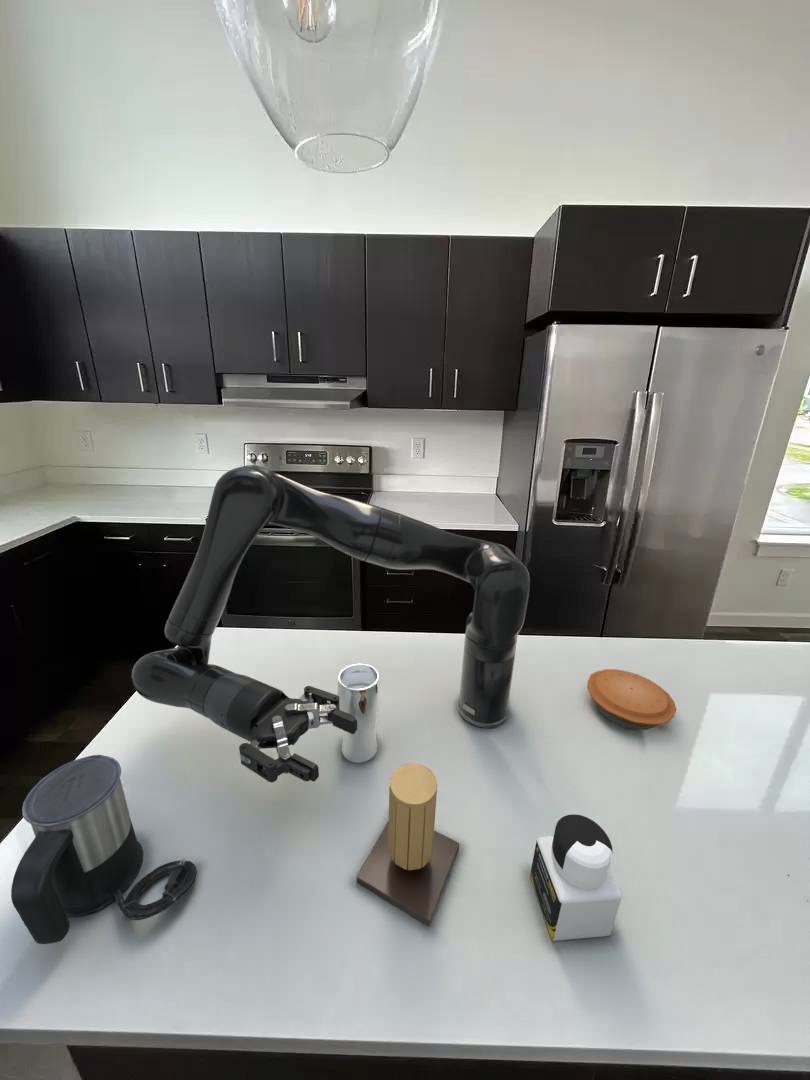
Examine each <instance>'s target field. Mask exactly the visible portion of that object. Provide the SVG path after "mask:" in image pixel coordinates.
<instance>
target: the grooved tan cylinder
mask: <svg viewBox="0 0 810 1080" xmlns="http://www.w3.org/2000/svg"><path fill="white" fill-rule="evenodd" d="M389 779H390V780H389V787H388V821H389V824H388V851H389V853H390V855H391V858H392V860H393V862H395V864H396V865H398V866H400V867H402V868H403V869H405V870H407V868H408V870H415V869H421V867H422V868H423V867H424V866H425V865H426V863H427V862H428V861H429V860H430V859H431V857H432V851H433V839H434V831H435V824H436V808H437V795H438V780H437V777H436V775H435V774H434V772H433V771H432V770H431V769H430V768H429V767H427V766H426V765H424V764H422V763H417V762H408V763H404V764H401V765H400V766H398V767H397V768H396V769H395V770H394V771H393V772H392V774H391V776H390V778H389Z"/></svg>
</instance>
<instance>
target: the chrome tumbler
mask: <svg viewBox="0 0 810 1080" xmlns="http://www.w3.org/2000/svg"><path fill="white" fill-rule="evenodd" d="M336 695H338V696H339V707H340V710H341V711H344V712H346V713H348V714H351V715H353V716H354V717H355V718H356V720H357V731H356V732H355V733H354V734H351V733H349V732H346V731H344V730H342V731H343V732H342V733H343V738H342V743H341V753H342V756H343V757H344V758H345V759H346V760H347V761H349V762H352V763H355V764H356V763H358V764H361V763H365V762H367V761H370V760H371V759H372V758H373V757H375V755H376V754H377V751H378V742H377V738H376V737H377V736H376V726H377V720H378V717H379V712H380V708H381V707H380V706H381V686H380V674H379V671H378V670H377V669H376V668H375V667H374V666H372V665H370V664H366V663H354V664H350V665H347V666H345V667H344V668H342V669H341V670H340V671H339V673H338V676H337V691H336Z"/></svg>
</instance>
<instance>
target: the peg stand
mask: <svg viewBox="0 0 810 1080" xmlns="http://www.w3.org/2000/svg"><path fill="white" fill-rule="evenodd" d="M388 824H389V820H388V821H387V823H386V824H385V826H384V828H383V830H382V831H381V833H380V835H379V836H378V838H377V840H376V842H375V844H374V845H373V847H372V849H371V851H370V853H369V854H368V856H367V858H366V860H365V862H364V863H363V865H362V866H361V869H360V870H359V872H358V874H357V875H356V884H357V885H359V886H360V887H362V888H364V889H365V890H367V891H368V892H370V893H372V894H374V895H375V896H377V897H379V898H380V899H382V900H384V901H385V902H387V903H389V904H390V905H392V906H394V907H395V908H397V909H398V910H400V911H402V912H403V913H405V914H407V915H409V916H410V917H412V918H413V919H415V920H416V921H418V922H420V923H422V924H423V925H425V926H426V927H428V928H430V927H431V924H432V922H433V919H434V917H435V914H436V911H437V910H438V907H439V903H440V900H441V898H442V896H443V894H444V890H445V888H446V885H447V883H448V880H449V877H450V874H451V872H452V869H453V867H454V865H455V861H456V859H457V856H458V854H459V851H460V843H459V842H458V841H456V840H454V839H452V838H450V837H448V836H446V835H444V834H442V833H440V832H439V831H436V830H434V839H433V851H432V857H431V859H430V860H429V861H428V862H427V863H426V865H425V866H424V867H423V868H422V867H421V869H415V870H408V868H407V870H405V869H403V868H402V867H400V866H398V865H396V864H395V862H393V860H392V858H391V855H390V853H389V851H388Z"/></svg>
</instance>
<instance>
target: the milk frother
mask: <svg viewBox="0 0 810 1080" xmlns="http://www.w3.org/2000/svg"><path fill="white" fill-rule="evenodd" d="M121 775H122V767H121V764H120V763H119V761H118V759H115V758H114V757H111V756H109V755H103V754H92V755H88V756H85V757H84V756H83V757H80V758H78V759H74V760H71V761H68V762H67V763H65V764H63V765H61V766H60V767H59V766H58V767H57V768H55V769H54V770H53V771H51V772H49V773H48V774H46V775H45V776H44V777H43V778H41V779H40V780H39V781H38V782H37V783H36V785H34V786H33V787H32V788H31V789H30V791H29V792H28V794H27V795H26V797H25V799H24V801H23V803H22V807H21V812H22V813H21V814H22V817H23V819H24V820H25V821H26V823H29V824H30V825H31V828H32V832H33V834H34V839H33V840H32V841H31V843H30V845H28V847H27V849H26V850H25V852H24V854H23V855H22V857H21V859H19V860H20V861H19V862H18V864H17V867H16V870H15V872H14V874H13V875H14V876H13V878H12V883H11V889H10V890H11V891H10V897H11V903H12V905H13V907H14V909H15V911H16V912H17V914H18V916H19V917H20V919H21V921H22V922H23V924H24V926H25V927H26V929H27V931H28V932H29V934H30V935H31V937H32V939H33V940H34V942H35V943H36V944H38V945H49V944H56V943H59V942H62V941H63V940H64V939H65V938H66V937H67V935H68V933H69V931H70V928H71V922H70V920H69V918H68V916H86V915H88V914H91V913H94V912H97V911H99V910H102V909H104V908H105V907H107V906H108V905H110V904H111V903H112V902H114V901H115V900H116V903H117V906H118V908H119V910H120V912H121V913H122V915H123V916H124V918H126V920H127V919H128V920H130V921H142V920H145V919H148V918H149V919H150V918H152V917H154V916H156V915H158V914H160V913H162V912H164V911H166V910H167V909H169V908H170V907H172V906H173V905H174V904H176V903H177V902H179V901H180V900H181V899H182V898H183V897H184V896H185V895H186V894H187V893H188V892H189V891H190V890H191V889H192V888H193V886H194V884H195V882H196V879H197V876H198V870H197V866H196V864H195V863H193V862H192V861H190V860H186V859H185V857H184V858H183V857H182V858H181V859H179V860H174V861H169V862H167V863H164V864H162V865H159V866H158V867H156V868H154V869H153V870H152V871H150V872H149V873H147V874H146V875H145V876H144V877H141V879H140V880H139V881H138V882H137V883H136V884H134V886H133V887H132V888H131V889H130V891H129V892H128V894H127V896H126V897H125V899H124V896H123V893H124V892H125V891H126V890H127V889H128V888H129V887H130V886H131V884H132V883H133V882H134V881H135V878H137V875H139V872H140V870H141V867H142V864H143V861H144V850H143V846H142V843H141V842H140V841H138V838H137V835H136V832H135V828H134V825H133V821H132V818H131V814H130V810H129V807H128V801H127V798H126V795H125V791H124V787H123V783H122V780H121ZM167 874H169V875H168V878H167V882H166V884H165V886H164V891H163V892H162V897H161V898H159V899H157V900H155V901H153V902H150V903H147V904H141V903H139V902H137V900H138V897H140V895H141V893H142V892H143V891H144V890H145V889H147V887H148V886H149V885H151V883H153V882H154V881H156V880H157V879H159V878H161V877H162V876H164V875H167Z"/></svg>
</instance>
